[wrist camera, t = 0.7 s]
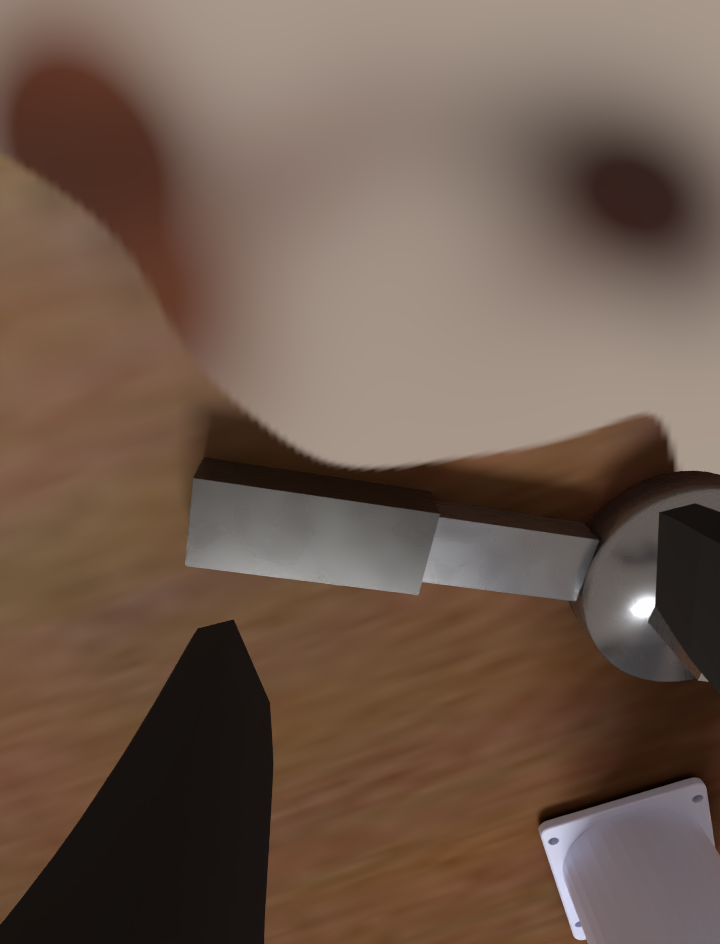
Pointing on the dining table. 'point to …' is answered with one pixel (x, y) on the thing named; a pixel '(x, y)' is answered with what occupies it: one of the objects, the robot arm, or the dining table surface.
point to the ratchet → (453, 547)
